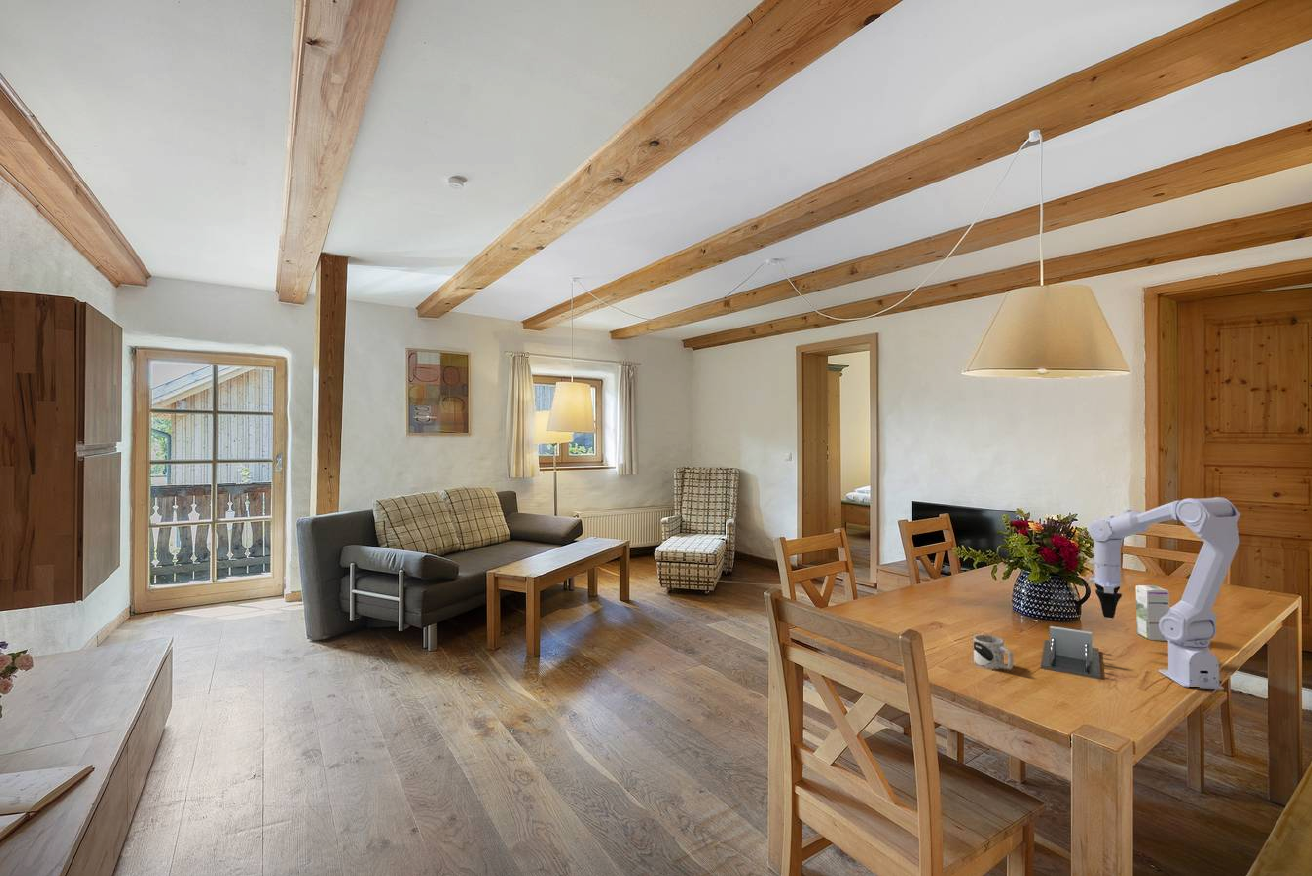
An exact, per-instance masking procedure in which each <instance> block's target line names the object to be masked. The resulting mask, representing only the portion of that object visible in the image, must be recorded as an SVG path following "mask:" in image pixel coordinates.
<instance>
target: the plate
mask: <svg viewBox="0 0 1312 876" xmlns="http://www.w3.org/2000/svg"><path fill="white" fill-rule="evenodd" d="M1052 638H1055V639H1056V655H1059V656H1065V657H1071V658H1077V659H1082V660H1085V644H1089V656H1090V661H1093V651H1092V648H1093V632H1092V631H1087V630H1081V629H1074V628H1067V627H1061V626H1053V625H1050V626H1049V641H1050V654H1051V647H1052Z"/></svg>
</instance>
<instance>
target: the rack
mask: <svg viewBox="0 0 1312 876" xmlns="http://www.w3.org/2000/svg"><path fill="white" fill-rule="evenodd" d="M1092 651H1093V661H1090V656H1089V644H1085V660H1082V659H1077V658H1071V657H1065V656H1059V655H1056V639H1055V638H1052V647H1051V654H1050V640H1048V639H1047V640H1046V639H1044V644H1043V651H1042V656H1041V660H1040V661H1041V663H1040V669H1044V670H1050V671H1056V672H1060V673H1065V674H1070V675H1076V676H1081V677H1085V678H1093V679H1097V680H1101V679H1102V677H1101V675H1102V674H1101V665H1100V664H1101V663H1100V653H1099V652H1100V651H1099V648H1095V647H1092Z"/></svg>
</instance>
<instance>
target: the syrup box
mask: <svg viewBox="0 0 1312 876" xmlns="http://www.w3.org/2000/svg"><path fill="white" fill-rule="evenodd" d="M1169 593H1170V591H1169V590H1168V589H1165V588H1163V587H1160V586H1157V585H1153V584H1152V585H1151V584H1137V585H1135V611H1136V613H1135V616H1136V617H1135V619H1136V620H1135V621H1136V623H1135V624H1136V634H1137V635H1139V636H1141V637H1143V638H1145V639H1146V640H1149V641H1159V642H1161V641H1163V642H1168V641H1167V640H1166V637H1164V635H1163V634H1162V633H1161V631H1160V628H1159V622H1160V619H1161V618H1162V617H1163V616H1165V615H1166V614H1167V613H1168V611H1169V609H1170V594H1169Z"/></svg>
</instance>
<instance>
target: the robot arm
mask: <svg viewBox="0 0 1312 876" xmlns="http://www.w3.org/2000/svg"><path fill="white" fill-rule="evenodd" d="M1122 512H1123V513H1121V514H1118V515H1116V516H1115V515H1109V516H1107V519H1095V520H1093V521H1092V522H1091V523H1089V525H1088V533H1089V536H1090V537H1091V539H1093V549H1094V550H1093V553H1094V554H1093V557H1094V559H1093V562H1094V570H1093V571H1094V572H1093V573H1094V577H1089V579H1088V581H1089V582H1092V583H1094V587H1095V588H1096V589H1094V590H1095V591H1094V593H1095V594H1096V596H1097V598H1098V600H1099V604H1100V607H1101V613H1102V616H1103V618H1104V619H1105V618H1106V619H1114V618H1115V615H1116V611H1117V606H1118V603H1119V601H1120V600H1121V598H1122V596H1123V594H1122V592H1121V593H1120V592H1118V591H1120V589H1121V586H1122V585H1123V581H1122V557H1121V556H1122V555H1121V554H1122V553H1121V551H1122V549H1121V548H1122V546H1123V542H1124V539H1126V538H1127V537H1131V536H1135V535H1138V534H1141V533H1142V534H1143V533H1145V532H1146V531H1148V529H1150V525H1154V524H1158V523H1163V522H1166V521H1170V520H1175V521H1181V523H1183V525H1185V526H1186V527H1187V528H1188V529H1189V530H1191V531H1192V533H1194V534H1195V535H1196V536H1197V537H1198V538H1200V539H1201V541H1202V542H1203V545H1202V547H1201V549H1200V551H1199V554H1198V556H1197V559H1196V561H1195V564H1194V567H1193V569H1192V570H1191V571H1192V572H1191V573H1190V576H1189V579H1188V581H1187V584H1186V586H1185V589H1184V591H1183V593H1182V596H1181V599H1180V600H1179V601H1178V602H1177V603H1175V604H1174V605H1172V606H1171V607H1169V611H1168V613H1167V614H1166V615H1165V616H1163V617H1162V618H1161V619H1160V622H1159V628H1160V631H1161V633H1162V634H1163V635H1164V637H1166V640H1167V641H1166V642H1167V669H1159V670H1158V672H1159V673H1161V674H1162V675H1164V676H1166V677H1167V678H1169V679H1170V680H1172V681H1174V682H1175V683H1177V684H1178V685H1180V686H1181V687H1183V688H1189V687H1196V686H1199V687H1200V688H1199V689H1206V690H1207V689H1208V690H1219V691H1220V690H1221V691H1224V689H1225V688H1224V687H1223V686H1222V685H1220V663H1219V660H1218V658H1217V657H1216V655H1215V654H1213V653H1212V652H1211V650H1210V648H1209V645H1210V644H1211V639H1214V637H1216V634H1217V629H1218V628H1217V625H1216V623H1217V619H1218V615H1217V613H1215V612H1214V611H1213V610H1212V609H1213V607H1214V605H1215V602H1216V599H1217V597H1218V596H1219V593H1220V590H1221V588H1222V587H1223V584H1224V582H1225V579H1226V577H1227V574H1228V572H1229V569H1230V567H1231V565H1232V563H1233V560H1234V558H1235V555H1236V553H1237V551H1238V548H1239V546H1240V537H1239V536H1240V535H1239V528H1238V521H1239V519H1240V516H1241V512H1240V511H1239V510H1238V509H1237V507H1236V506H1235V505H1234V504H1233V503H1232V502H1231V501H1230V500H1229V499H1227V498H1225V497H1221V496H1220V497H1219V496H1214V497H1208V498H1205V497H1204V498H1193V497H1192V498H1191V497H1189V498H1188V497H1187V498H1183V499H1180V500H1173V501H1170V502H1168V503H1166V504H1163V505H1160V506H1157V507H1155V508H1153V509H1149V510H1146V511H1144V512H1141V511H1138V510H1132V509H1126V510H1123V511H1122Z"/></svg>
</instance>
